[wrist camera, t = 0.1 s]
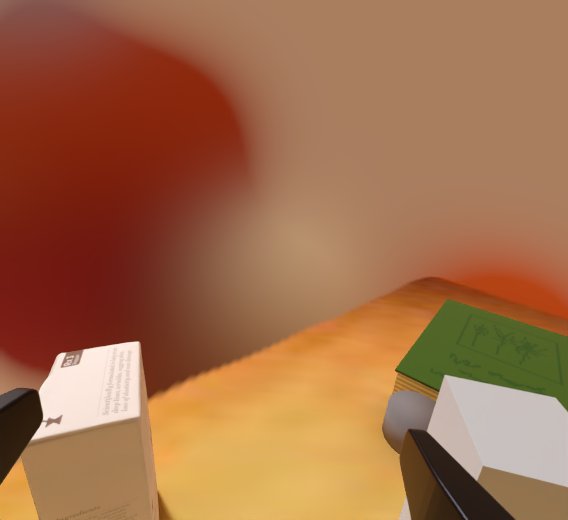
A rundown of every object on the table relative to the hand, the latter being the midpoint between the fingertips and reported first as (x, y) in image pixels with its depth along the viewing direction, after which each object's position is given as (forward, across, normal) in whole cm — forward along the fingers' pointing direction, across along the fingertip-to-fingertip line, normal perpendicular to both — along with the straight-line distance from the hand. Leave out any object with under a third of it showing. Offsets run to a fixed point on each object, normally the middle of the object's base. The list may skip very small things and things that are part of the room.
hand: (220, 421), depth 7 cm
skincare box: (+6, +7, +17) cm, 19 cm away
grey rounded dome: (+16, -14, +17) cm, 27 cm away
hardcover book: (+26, -28, +17) cm, 42 cm away
